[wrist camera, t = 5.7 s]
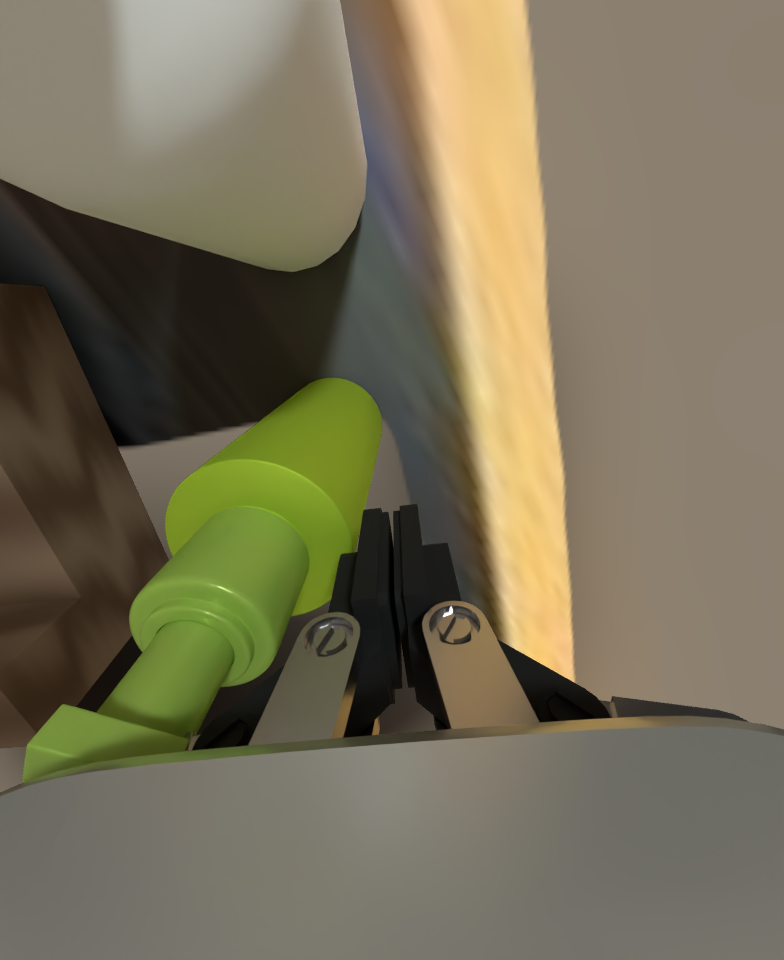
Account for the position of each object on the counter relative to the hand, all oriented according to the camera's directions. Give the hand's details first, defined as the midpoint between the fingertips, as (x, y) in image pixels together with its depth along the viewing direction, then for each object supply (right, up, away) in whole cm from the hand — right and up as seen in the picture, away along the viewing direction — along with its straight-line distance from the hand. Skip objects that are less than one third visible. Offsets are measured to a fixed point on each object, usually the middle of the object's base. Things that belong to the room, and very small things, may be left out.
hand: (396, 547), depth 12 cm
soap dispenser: (-4, +5, +12) cm, 14 cm away
